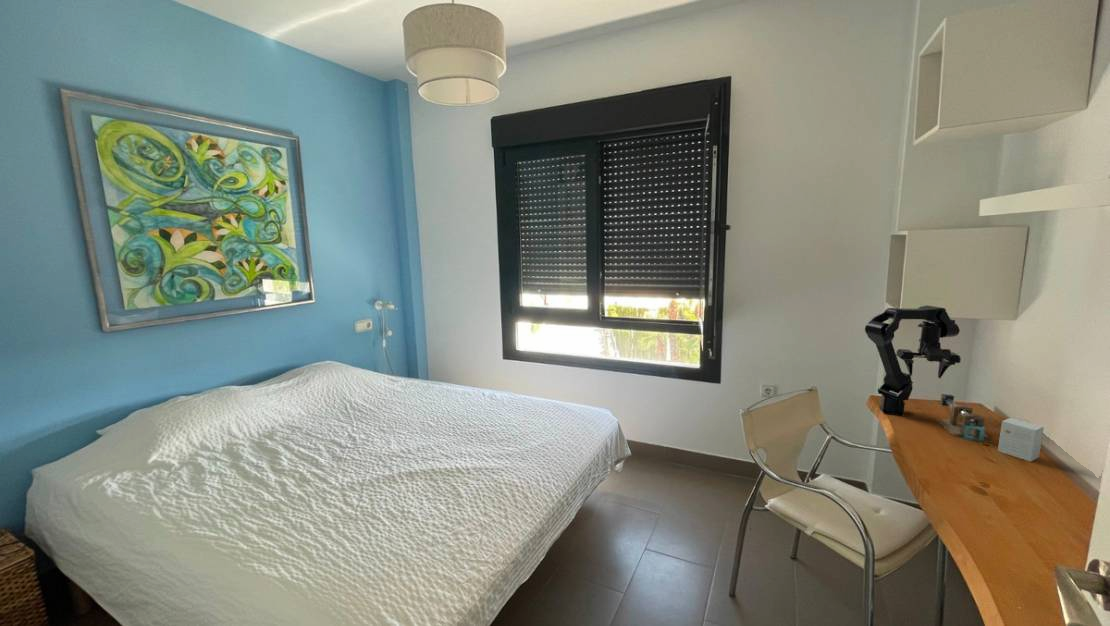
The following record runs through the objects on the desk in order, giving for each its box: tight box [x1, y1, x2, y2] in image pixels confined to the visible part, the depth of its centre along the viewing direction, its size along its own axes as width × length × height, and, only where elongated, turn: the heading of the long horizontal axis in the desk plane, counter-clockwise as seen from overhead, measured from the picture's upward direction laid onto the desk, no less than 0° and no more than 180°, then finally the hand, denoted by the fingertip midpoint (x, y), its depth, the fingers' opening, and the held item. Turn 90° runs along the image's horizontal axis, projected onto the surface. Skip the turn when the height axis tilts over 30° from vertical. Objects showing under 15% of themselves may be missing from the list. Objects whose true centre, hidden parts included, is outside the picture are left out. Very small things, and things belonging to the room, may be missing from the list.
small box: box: [997, 417, 1045, 463], centre depth 141 cm, size 8×6×10 cm
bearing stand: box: [937, 404, 991, 441], centre depth 158 cm, size 10×13×8 cm
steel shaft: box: [940, 393, 977, 425], centre depth 162 cm, size 3×21×4 cm, turn 159°
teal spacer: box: [962, 424, 986, 442], centre depth 152 cm, size 5×1×5 cm, turn 69°
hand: (924, 376), depth 176 cm, fingers open, 9 cm apart
